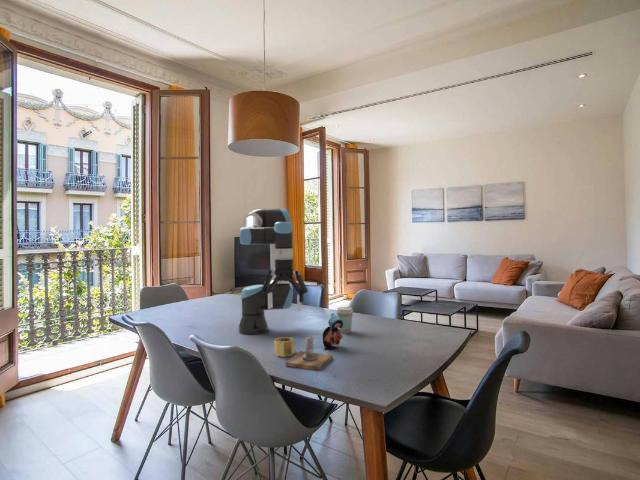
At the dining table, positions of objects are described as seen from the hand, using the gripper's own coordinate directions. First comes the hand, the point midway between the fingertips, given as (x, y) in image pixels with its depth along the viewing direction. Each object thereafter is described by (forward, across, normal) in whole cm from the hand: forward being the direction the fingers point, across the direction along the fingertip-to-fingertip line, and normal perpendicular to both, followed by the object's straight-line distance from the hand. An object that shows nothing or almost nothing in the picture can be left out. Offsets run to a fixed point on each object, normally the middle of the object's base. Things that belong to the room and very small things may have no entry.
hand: (284, 309), depth 157 cm
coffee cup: (+19, +14, +41) cm, 47 cm away
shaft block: (+19, +14, -6) cm, 24 cm away
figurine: (+19, +17, +14) cm, 29 cm away
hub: (+19, 0, 0) cm, 19 cm away
